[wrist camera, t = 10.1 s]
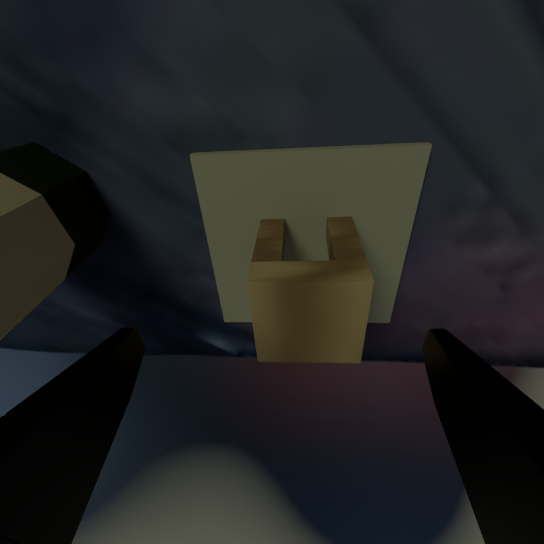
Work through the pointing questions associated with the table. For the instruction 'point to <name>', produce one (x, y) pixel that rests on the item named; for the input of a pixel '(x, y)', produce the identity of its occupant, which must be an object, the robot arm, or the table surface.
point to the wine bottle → (42, 227)
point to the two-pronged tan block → (309, 297)
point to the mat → (310, 210)
